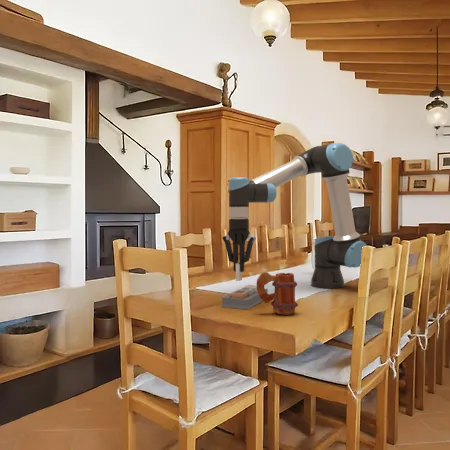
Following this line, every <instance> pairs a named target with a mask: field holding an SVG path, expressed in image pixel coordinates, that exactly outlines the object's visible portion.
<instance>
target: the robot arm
mask: <svg viewBox="0 0 450 450" xmlns="http://www.w3.org/2000/svg"><path fill="white" fill-rule="evenodd" d="M353 163H354V155H353V152H352V150H351V148H350V147H349V146H348V145H346V144H345V143H342V142H335V143H333V142H332V143H328V144H324V145H317V146H313V147H311V148H309V149H307V150H305V151H303V152H300V154H298V155H295V156H294V157H293V159H292V160H290V161H287V162H286V163H284V164H282V165H280V166H278V167H275V168H274V169H272V170H271V169H270V170H269V171H267V172H265V173H263V174H261V175H259V176H257V177H254V178H253V179H249V177H242V176H241V177H240V176H236V177H231V178H230V179H229V182H228V218H230V219H228V232H227V234H226V235H224V236H223V237H221V239H222V241H223V242H224V245H225V250H226V254H227V258H228V261H229V262H231V263H233V272H235V281H237V282H240V281H242V280H243V272H245V263H248V262H249V261H250V258H251V253H252V249H253V244H254V242H255V241H256V237H255V236H253V235H251V233H250V231H249V230H250V222H249V221H250V220H249V216H250V215H249V214H250V210H249V209H250V207H249V206H250V203H251V204H252V203H259V204H260V203H261V204H262V203H264V204H268V203H272V202H274V201H275V200H276V198H277V193H278V192H277V188H278V187H281V186H282V185H284V184H286V183H288V182H291V181H293V180H294V179H296V178H298V177H306V176H307V175H312V174H317V173H321V178H322V179H323V180H324V181H325V182H326V187H327V192H328V193H327V194H328V198H329V204H330V205H329V206H330V209H331V215H332V221H333V227H334V235H329V236H327V235H326V236H319V237H316V238H315V239H314V271H313V274H312V277H311V279H310V286H312V287H313V288H319V289H340V288H344V287H345V279H344V277H343V274H342V270H341V267H345V268H346V267H347V268H359V267H360V268H361V266H360V264H361V253H362V252H361V250H362V247H363V246H367V247H368V245H367V244H366V242H365V241H362V240H361V235H360V233H359V232H357V231H356V227H355V219H354V213H353V208H352V203H351V195H350V189H349V184H348V176H349V174H350V173H351V172H350V168H351V167H352V166H353ZM247 240H248V241H247ZM231 241H232V244H231ZM246 242H247V245H246ZM245 246H246V247H245ZM245 248H246V249H245Z"/></svg>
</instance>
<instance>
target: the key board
mask: <svg viewBox="0 0 450 450" xmlns="http://www.w3.org/2000/svg"><path fill="white" fill-rule="evenodd" d="M244 287H245V286H243V287H242V288H244ZM236 291H238V289H237V290H236ZM265 292H266V293H267V294H268V288H265ZM221 300H222V303H221V308H227V309H228V308H229V309H230V308H231V309H239V310H250V309H252V308H254V307H255V306H257V305H258V304H260V303H262V302H264V301H263V300H262V299H261V298H260V296H259V295H258V292H254V294H252V295H248V297H247V298H245V299H241V298H231V293H229V294H227V295H225V296H222V298H221Z"/></svg>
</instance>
